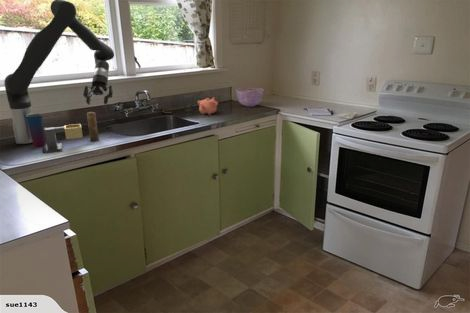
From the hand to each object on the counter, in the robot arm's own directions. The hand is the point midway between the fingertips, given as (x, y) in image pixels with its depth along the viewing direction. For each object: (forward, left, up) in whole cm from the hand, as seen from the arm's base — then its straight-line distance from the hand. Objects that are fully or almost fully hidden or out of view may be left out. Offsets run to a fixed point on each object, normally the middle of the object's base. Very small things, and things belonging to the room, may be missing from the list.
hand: (96, 103), depth 195 cm
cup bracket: (-18, -18, -17) cm, 30 cm away
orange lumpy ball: (+69, +25, -17) cm, 76 cm away
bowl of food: (+105, +37, -17) cm, 113 cm away
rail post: (-4, -10, -17) cm, 20 cm away
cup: (-29, -9, -17) cm, 34 cm away
